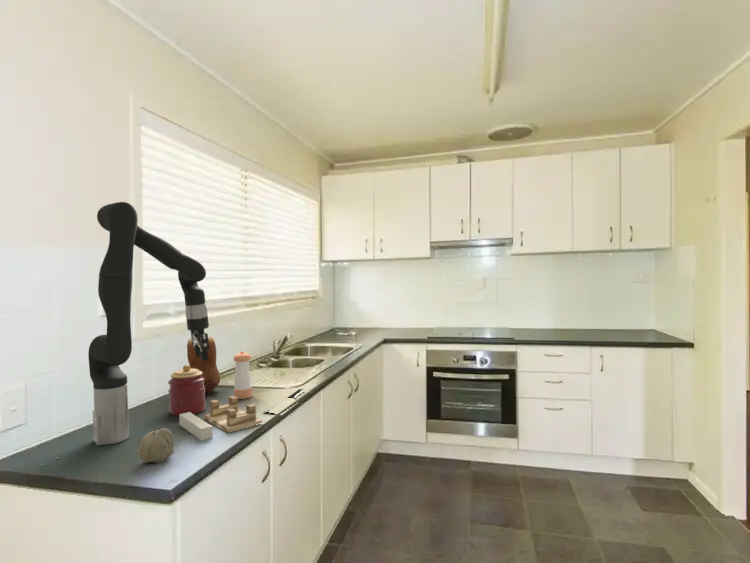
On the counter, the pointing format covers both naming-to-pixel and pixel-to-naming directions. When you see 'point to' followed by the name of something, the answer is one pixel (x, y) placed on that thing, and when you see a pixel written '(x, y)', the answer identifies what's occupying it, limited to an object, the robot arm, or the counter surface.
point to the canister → (186, 391)
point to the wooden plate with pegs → (232, 415)
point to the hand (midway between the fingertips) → (201, 358)
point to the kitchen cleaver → (288, 397)
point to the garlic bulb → (156, 446)
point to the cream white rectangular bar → (195, 426)
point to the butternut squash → (205, 365)
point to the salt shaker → (242, 376)
